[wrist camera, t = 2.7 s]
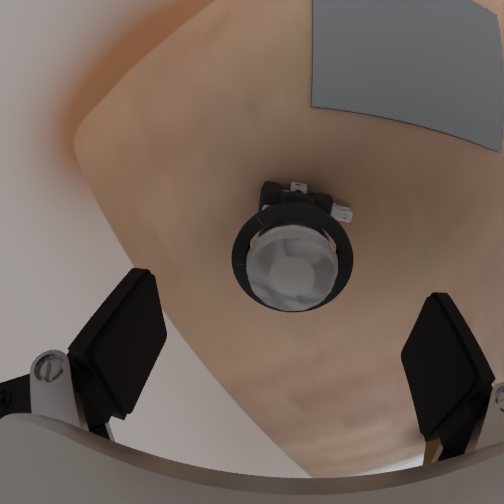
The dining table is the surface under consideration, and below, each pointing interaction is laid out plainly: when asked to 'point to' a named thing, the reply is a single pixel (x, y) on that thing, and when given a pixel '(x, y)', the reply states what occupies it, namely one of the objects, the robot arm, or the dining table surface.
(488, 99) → the mat
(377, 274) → the dining table surface
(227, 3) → the dining table surface
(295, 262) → the black mechanical part
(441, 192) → the dining table surface
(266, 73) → the dining table surface
